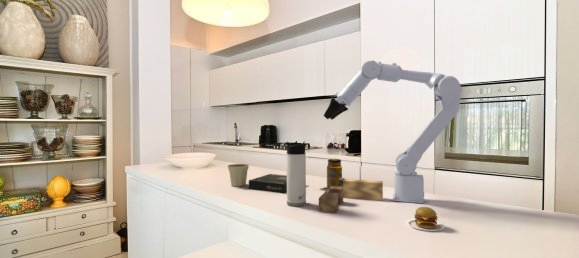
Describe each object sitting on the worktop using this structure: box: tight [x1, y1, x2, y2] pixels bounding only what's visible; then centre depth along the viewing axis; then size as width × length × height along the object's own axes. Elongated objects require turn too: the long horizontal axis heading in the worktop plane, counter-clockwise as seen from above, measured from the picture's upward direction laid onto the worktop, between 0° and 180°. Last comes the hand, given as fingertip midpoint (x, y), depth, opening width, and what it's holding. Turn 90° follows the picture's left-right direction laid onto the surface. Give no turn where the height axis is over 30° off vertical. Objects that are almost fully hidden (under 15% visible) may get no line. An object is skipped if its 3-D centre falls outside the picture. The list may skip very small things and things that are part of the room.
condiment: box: [319, 158, 343, 192], centre depth 120 cm, size 7×8×12 cm
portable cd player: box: [248, 173, 287, 194], centre depth 125 cm, size 16×17×4 cm
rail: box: [339, 177, 384, 201], centre depth 106 cm, size 15×4×6 cm, turn 70°
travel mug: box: [286, 142, 307, 207], centre depth 98 cm, size 6×7×20 cm
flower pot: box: [226, 163, 250, 188], centre depth 128 cm, size 9×9×9 cm
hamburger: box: [406, 206, 445, 232], centre depth 77 cm, size 12×12×6 cm
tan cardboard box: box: [318, 186, 344, 214], centre depth 96 cm, size 5×14×5 cm, turn 160°
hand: (327, 117), depth 111 cm, fingers open, 7 cm apart
